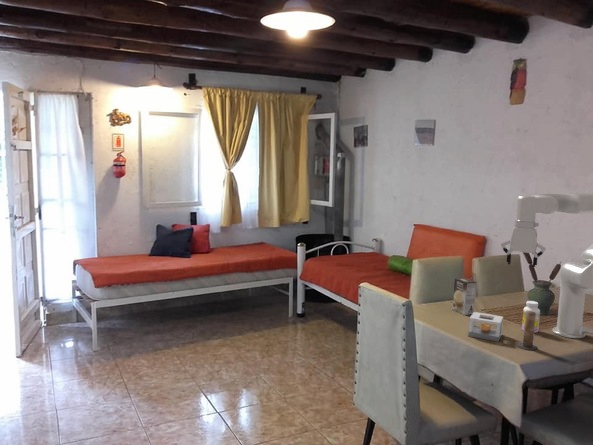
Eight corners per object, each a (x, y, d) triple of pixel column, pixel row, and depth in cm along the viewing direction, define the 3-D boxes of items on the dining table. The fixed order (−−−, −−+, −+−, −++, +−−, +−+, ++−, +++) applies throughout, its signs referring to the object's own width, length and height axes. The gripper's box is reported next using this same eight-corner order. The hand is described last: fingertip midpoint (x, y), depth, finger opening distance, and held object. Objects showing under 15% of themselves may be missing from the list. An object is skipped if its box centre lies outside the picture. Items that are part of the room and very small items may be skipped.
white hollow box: (501, 334, 222) (503, 316, 221) (498, 341, 214) (499, 322, 213) (472, 329, 228) (473, 311, 227) (468, 336, 219) (469, 317, 218)
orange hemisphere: (491, 329, 221) (491, 325, 221) (489, 332, 218) (490, 327, 218) (481, 327, 223) (481, 323, 223) (479, 330, 220) (480, 325, 219)
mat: (537, 346, 210) (537, 345, 210) (536, 351, 204) (536, 350, 204) (519, 342, 213) (519, 341, 213) (517, 348, 207) (517, 347, 207)
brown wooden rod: (532, 345, 209) (536, 312, 207) (532, 348, 206) (535, 314, 204) (523, 343, 211) (526, 310, 209) (522, 346, 208) (525, 312, 206)
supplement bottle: (524, 327, 234) (526, 299, 232) (540, 330, 229) (542, 302, 228) (519, 330, 228) (522, 302, 227) (535, 334, 224) (538, 305, 223)
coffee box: (451, 309, 257) (453, 278, 255) (462, 308, 259) (464, 277, 257) (463, 315, 249) (466, 282, 247) (474, 314, 251) (477, 281, 249)
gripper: (548, 226, 216) (544, 266, 219) (503, 222, 225) (500, 261, 227) (547, 228, 210) (543, 269, 212) (501, 224, 218) (498, 264, 220)
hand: (521, 265), depth 219 cm, fingers open, 9 cm apart
